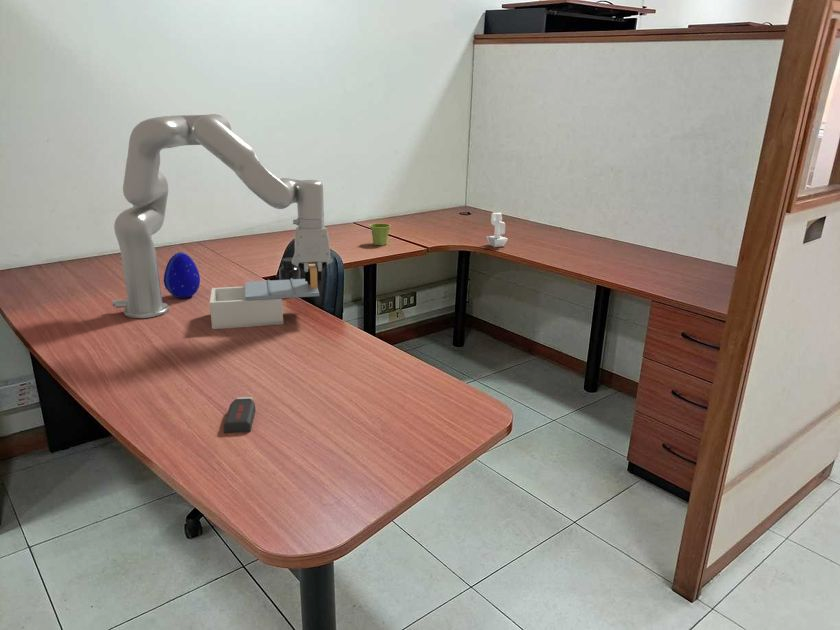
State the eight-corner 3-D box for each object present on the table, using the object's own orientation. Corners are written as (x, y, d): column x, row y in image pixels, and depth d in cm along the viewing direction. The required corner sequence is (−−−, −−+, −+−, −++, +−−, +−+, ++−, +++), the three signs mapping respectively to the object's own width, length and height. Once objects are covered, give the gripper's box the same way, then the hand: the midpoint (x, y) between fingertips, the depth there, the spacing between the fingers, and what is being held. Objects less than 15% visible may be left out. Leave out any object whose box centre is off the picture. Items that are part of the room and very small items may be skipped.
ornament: (189, 290, 210) (184, 247, 205) (208, 295, 206) (203, 251, 201) (161, 298, 201) (156, 253, 196) (180, 303, 197) (175, 258, 192)
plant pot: (366, 242, 281) (366, 223, 278) (385, 241, 285) (385, 222, 282) (374, 247, 274) (374, 228, 271) (393, 245, 277) (393, 226, 274)
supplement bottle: (276, 294, 208) (274, 260, 204) (289, 289, 214) (287, 255, 210) (292, 298, 205) (290, 263, 201) (305, 292, 211) (303, 258, 207)
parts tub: (212, 329, 177) (209, 302, 175) (214, 312, 190) (212, 288, 187) (283, 324, 182) (281, 298, 179) (280, 308, 195) (279, 284, 192)
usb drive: (224, 434, 125) (222, 422, 124) (233, 406, 136) (232, 394, 135) (250, 433, 125) (249, 421, 124) (257, 405, 136) (256, 393, 136)
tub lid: (245, 300, 176) (243, 276, 174) (245, 284, 190) (243, 262, 188) (319, 296, 182) (318, 273, 179) (314, 281, 195) (313, 259, 193)
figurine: (495, 248, 277) (497, 215, 272) (484, 243, 285) (486, 211, 280) (509, 247, 280) (511, 214, 275) (497, 242, 288) (499, 210, 283)
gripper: (284, 226, 176) (287, 288, 182) (339, 225, 180) (341, 285, 186) (282, 221, 183) (285, 281, 189) (336, 220, 187) (337, 278, 193)
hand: (313, 282), depth 188 cm, fingers closed on tub lid, 2 cm apart
